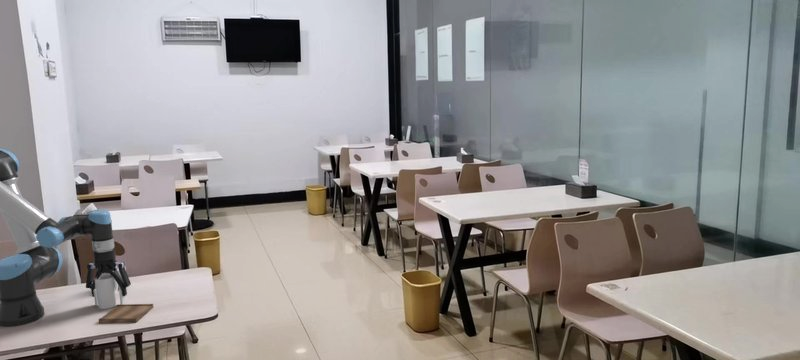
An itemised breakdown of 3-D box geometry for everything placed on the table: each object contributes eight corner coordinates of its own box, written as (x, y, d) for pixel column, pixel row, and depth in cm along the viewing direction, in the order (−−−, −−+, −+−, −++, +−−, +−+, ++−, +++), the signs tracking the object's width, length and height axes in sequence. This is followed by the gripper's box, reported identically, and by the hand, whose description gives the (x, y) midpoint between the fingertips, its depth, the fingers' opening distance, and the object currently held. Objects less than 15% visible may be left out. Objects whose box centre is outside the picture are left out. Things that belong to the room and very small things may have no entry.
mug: (108, 310, 226) (104, 280, 224) (94, 308, 228) (90, 279, 226) (126, 300, 236) (123, 272, 234) (112, 299, 237) (109, 271, 235)
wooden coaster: (99, 323, 214) (98, 319, 213) (117, 308, 228) (117, 304, 227) (136, 322, 213) (136, 318, 213) (153, 307, 227) (152, 303, 227)
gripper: (70, 253, 224) (77, 308, 228) (127, 251, 224) (133, 307, 228) (81, 247, 232) (88, 301, 236) (136, 246, 231) (142, 299, 235)
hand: (110, 304), depth 232 cm, fingers open, 9 cm apart
